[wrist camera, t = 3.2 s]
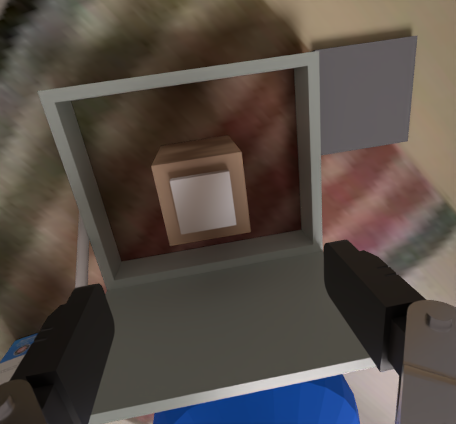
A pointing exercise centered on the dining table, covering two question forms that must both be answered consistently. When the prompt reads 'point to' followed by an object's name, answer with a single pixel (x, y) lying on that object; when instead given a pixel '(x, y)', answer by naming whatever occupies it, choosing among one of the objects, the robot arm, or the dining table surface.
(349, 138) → the mat
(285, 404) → the blue funnel
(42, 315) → the dining table surface
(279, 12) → the dining table surface
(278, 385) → the case
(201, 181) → the module
